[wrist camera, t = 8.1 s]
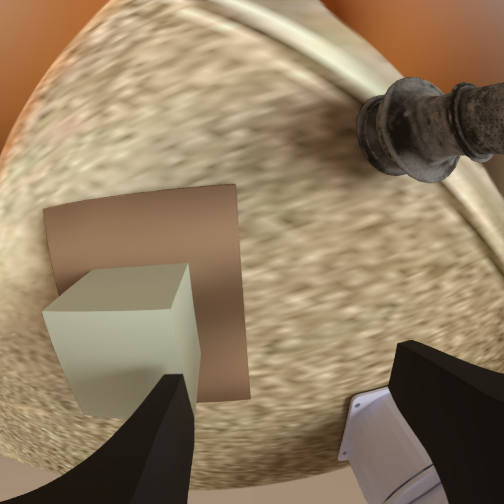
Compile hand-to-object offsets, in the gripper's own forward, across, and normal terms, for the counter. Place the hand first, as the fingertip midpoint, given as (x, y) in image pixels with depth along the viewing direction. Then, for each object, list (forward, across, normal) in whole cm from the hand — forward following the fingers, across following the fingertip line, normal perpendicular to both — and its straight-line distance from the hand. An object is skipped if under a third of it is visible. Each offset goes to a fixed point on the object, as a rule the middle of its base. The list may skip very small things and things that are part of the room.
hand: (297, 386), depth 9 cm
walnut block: (+9, +6, 0) cm, 11 cm away
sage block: (+6, +6, 0) cm, 9 cm away
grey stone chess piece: (+9, -9, -9) cm, 16 cm away
